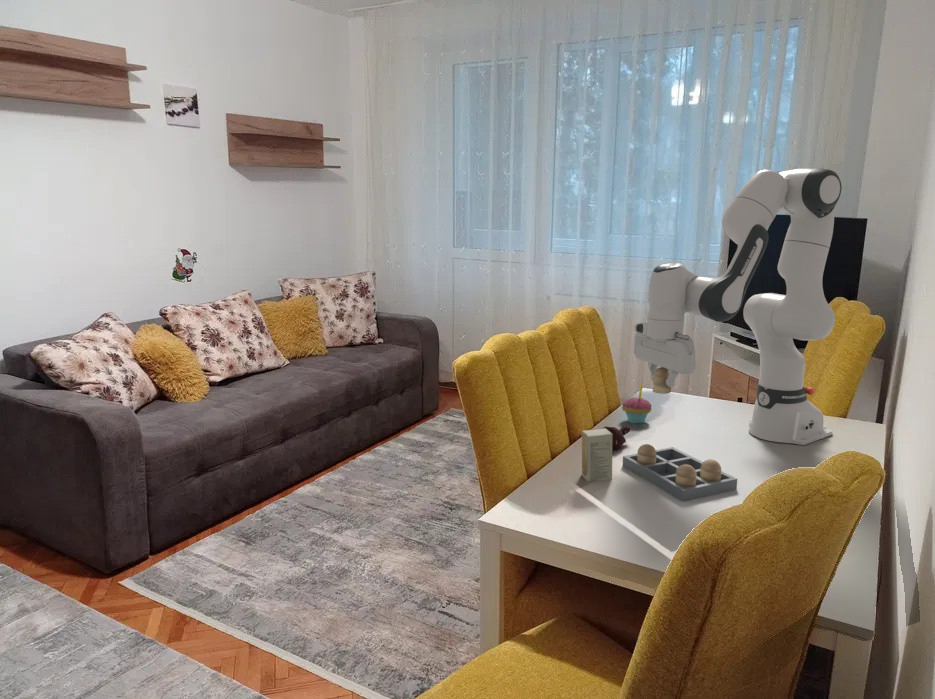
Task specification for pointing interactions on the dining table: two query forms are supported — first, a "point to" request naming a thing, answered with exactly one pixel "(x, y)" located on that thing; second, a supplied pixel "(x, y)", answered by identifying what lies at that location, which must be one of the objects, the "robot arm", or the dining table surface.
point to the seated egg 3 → (710, 471)
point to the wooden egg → (660, 381)
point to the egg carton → (665, 475)
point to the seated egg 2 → (686, 476)
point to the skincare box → (597, 454)
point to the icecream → (618, 436)
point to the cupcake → (636, 408)
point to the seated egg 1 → (646, 454)
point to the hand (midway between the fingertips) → (662, 383)
